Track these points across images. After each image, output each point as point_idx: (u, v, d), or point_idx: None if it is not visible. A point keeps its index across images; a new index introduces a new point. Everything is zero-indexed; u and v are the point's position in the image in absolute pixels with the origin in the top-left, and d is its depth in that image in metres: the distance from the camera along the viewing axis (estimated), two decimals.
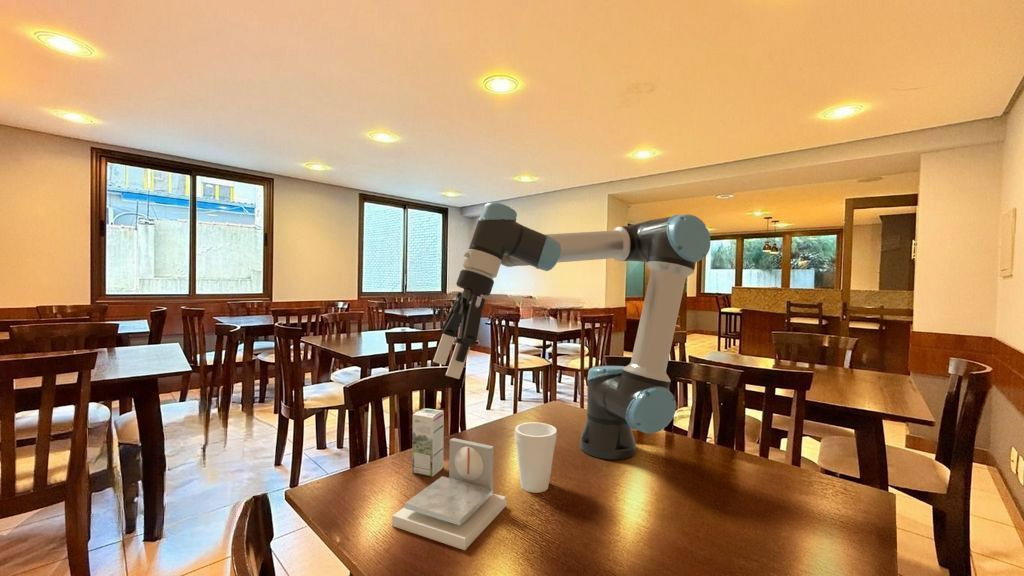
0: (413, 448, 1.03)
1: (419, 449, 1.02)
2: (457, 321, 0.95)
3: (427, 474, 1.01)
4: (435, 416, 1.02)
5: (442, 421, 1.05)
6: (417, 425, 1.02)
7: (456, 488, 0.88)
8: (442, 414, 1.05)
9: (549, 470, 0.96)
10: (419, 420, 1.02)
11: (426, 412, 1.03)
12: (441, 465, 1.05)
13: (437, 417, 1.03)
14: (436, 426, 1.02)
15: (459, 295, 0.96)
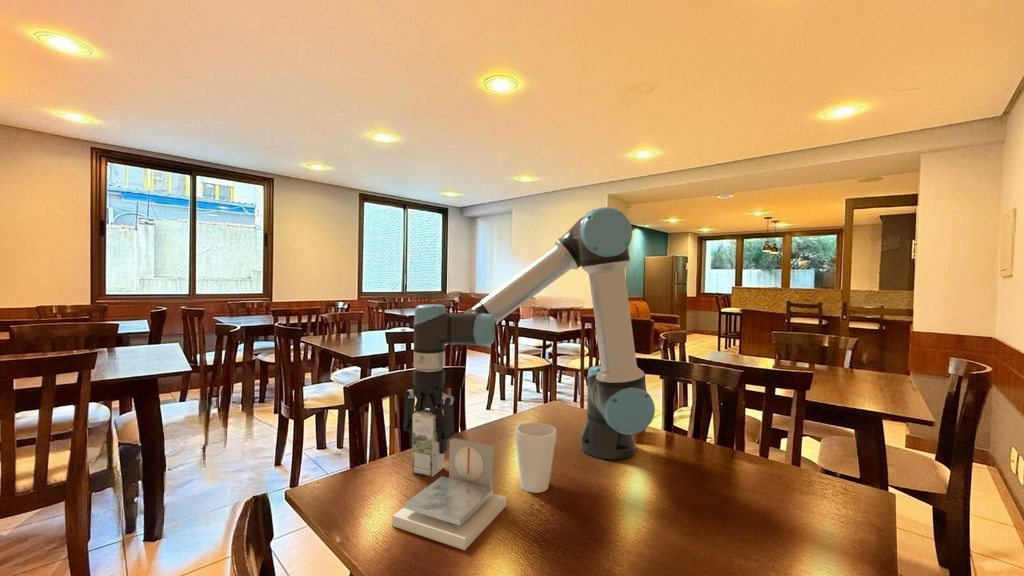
0: (413, 448, 1.03)
1: (419, 449, 1.02)
2: None
3: (427, 474, 1.01)
4: (435, 416, 1.02)
5: None
6: (417, 425, 1.02)
7: (456, 488, 0.88)
8: None
9: (549, 470, 0.96)
10: (419, 420, 1.02)
11: (427, 412, 1.03)
12: None
13: None
14: (435, 426, 1.02)
15: (407, 393, 1.06)
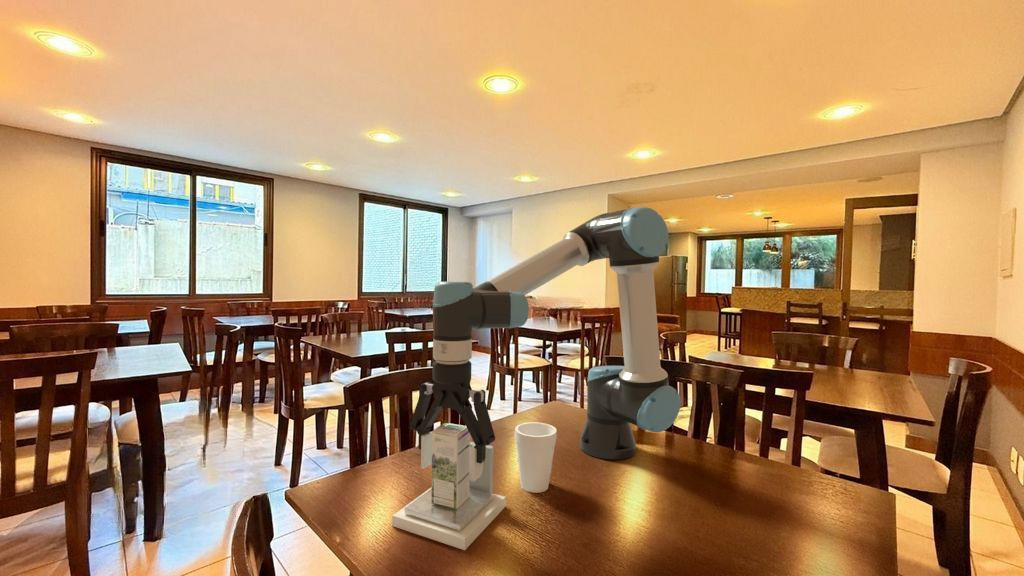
0: (432, 473, 0.83)
1: (440, 475, 0.82)
2: (436, 414, 0.86)
3: (450, 506, 0.81)
4: (460, 434, 0.82)
5: (468, 439, 0.85)
6: (438, 445, 0.82)
7: None
8: (468, 431, 0.85)
9: (549, 470, 0.96)
10: (440, 439, 0.82)
11: (449, 429, 0.83)
12: (467, 493, 0.85)
13: (462, 435, 0.83)
14: (460, 446, 0.82)
15: (425, 387, 0.85)
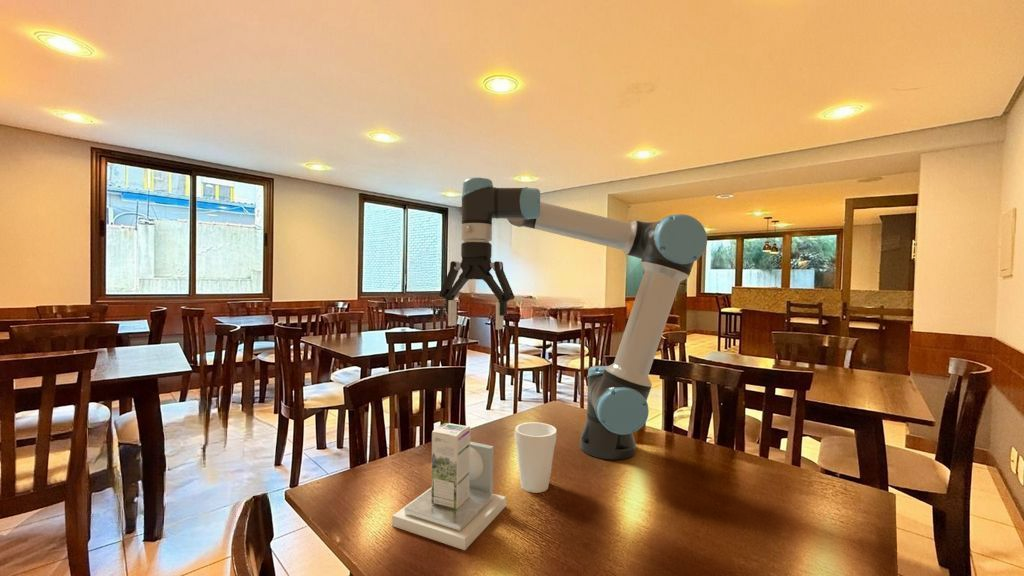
0: (432, 473, 0.83)
1: (440, 475, 0.82)
2: (461, 285, 1.09)
3: (450, 506, 0.81)
4: (460, 434, 0.82)
5: (468, 439, 0.85)
6: (438, 445, 0.82)
7: None
8: (468, 431, 0.85)
9: (549, 470, 0.96)
10: (440, 439, 0.82)
11: (449, 429, 0.83)
12: (467, 493, 0.85)
13: (463, 435, 0.83)
14: (460, 446, 0.82)
15: (454, 263, 1.09)
